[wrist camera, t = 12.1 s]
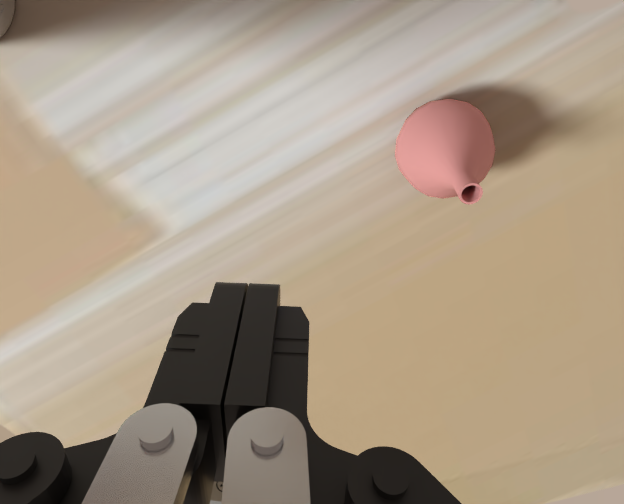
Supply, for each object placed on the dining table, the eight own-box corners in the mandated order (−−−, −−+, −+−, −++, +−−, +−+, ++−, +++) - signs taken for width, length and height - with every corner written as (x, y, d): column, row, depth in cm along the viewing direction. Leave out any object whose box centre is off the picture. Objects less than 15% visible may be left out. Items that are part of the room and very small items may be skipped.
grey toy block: (209, 465, 69) (202, 499, 64) (244, 469, 69) (240, 504, 65) (206, 484, 71) (199, 519, 67) (240, 489, 72) (235, 523, 68)
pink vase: (493, 97, 40) (551, 149, 30) (462, 180, 44) (504, 250, 34) (403, 80, 40) (432, 127, 30) (380, 166, 44) (398, 233, 34)
